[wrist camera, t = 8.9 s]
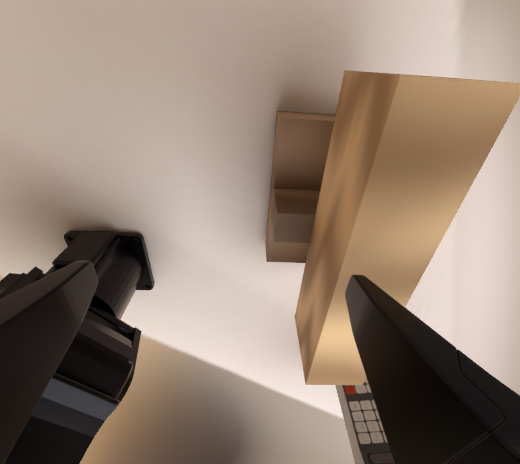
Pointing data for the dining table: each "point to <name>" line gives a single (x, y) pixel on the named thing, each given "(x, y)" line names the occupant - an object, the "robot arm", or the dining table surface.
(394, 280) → the light wooden block
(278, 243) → the ridge stand
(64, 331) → the robot arm
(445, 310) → the dining table surface
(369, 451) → the vintage mobile phone
